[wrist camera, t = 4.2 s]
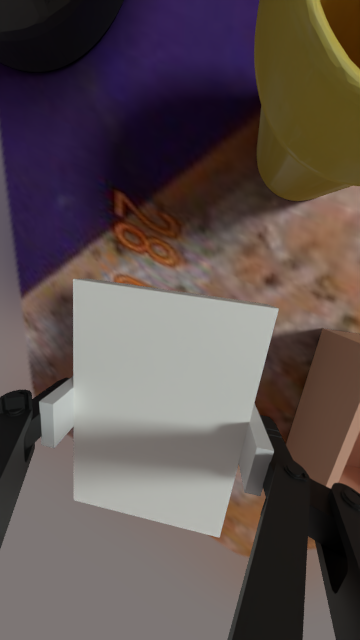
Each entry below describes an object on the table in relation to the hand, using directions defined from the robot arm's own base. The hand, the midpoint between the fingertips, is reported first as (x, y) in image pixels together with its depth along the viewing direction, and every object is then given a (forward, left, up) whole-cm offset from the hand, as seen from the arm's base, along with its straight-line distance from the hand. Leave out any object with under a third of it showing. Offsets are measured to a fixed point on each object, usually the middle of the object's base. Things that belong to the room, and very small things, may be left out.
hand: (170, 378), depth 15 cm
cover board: (0, 0, +3) cm, 3 cm away
